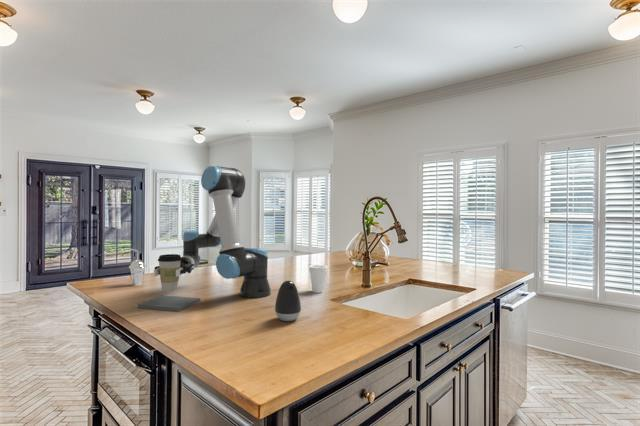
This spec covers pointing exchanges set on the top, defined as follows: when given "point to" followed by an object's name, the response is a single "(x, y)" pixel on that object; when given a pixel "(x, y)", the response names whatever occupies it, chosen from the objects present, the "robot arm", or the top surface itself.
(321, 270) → the foam cup
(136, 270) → the cup with straw
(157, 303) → the mat
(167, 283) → the coffee cup
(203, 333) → the top surface
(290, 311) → the black egg shaped speaker
